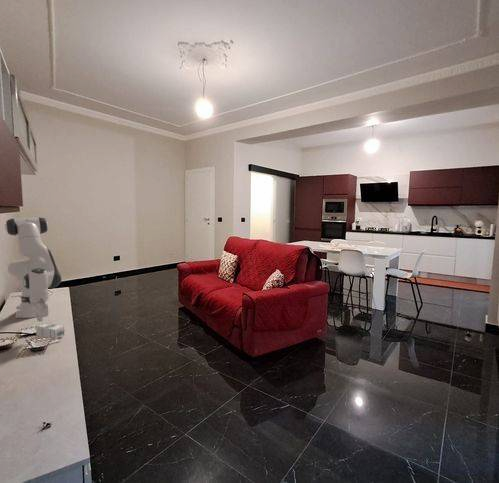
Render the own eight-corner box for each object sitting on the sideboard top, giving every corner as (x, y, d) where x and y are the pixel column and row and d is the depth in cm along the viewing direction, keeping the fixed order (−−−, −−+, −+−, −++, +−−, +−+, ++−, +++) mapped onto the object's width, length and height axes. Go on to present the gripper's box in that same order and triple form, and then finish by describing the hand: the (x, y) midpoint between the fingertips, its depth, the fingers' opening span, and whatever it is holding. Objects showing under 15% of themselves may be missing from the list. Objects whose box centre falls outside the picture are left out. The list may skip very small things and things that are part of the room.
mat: (26, 339, 166) (26, 338, 166) (50, 333, 176) (50, 332, 175) (34, 348, 156) (34, 347, 156) (59, 341, 165) (59, 340, 165)
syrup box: (36, 335, 170) (56, 339, 167) (35, 326, 170) (55, 329, 166) (45, 331, 176) (64, 335, 172) (44, 322, 175) (64, 325, 172)
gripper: (51, 300, 163) (52, 324, 164) (40, 292, 176) (41, 315, 177) (37, 302, 158) (38, 327, 159) (27, 294, 171) (28, 317, 172)
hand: (39, 320), depth 168 cm, fingers closed
